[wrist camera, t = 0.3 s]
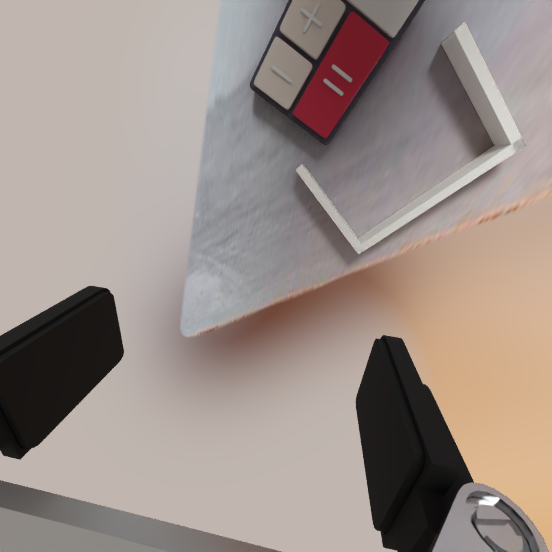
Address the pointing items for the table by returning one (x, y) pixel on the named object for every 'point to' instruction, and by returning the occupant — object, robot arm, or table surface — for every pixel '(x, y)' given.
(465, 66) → the white u-shaped fence
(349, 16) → the calculator
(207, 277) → the table surface
